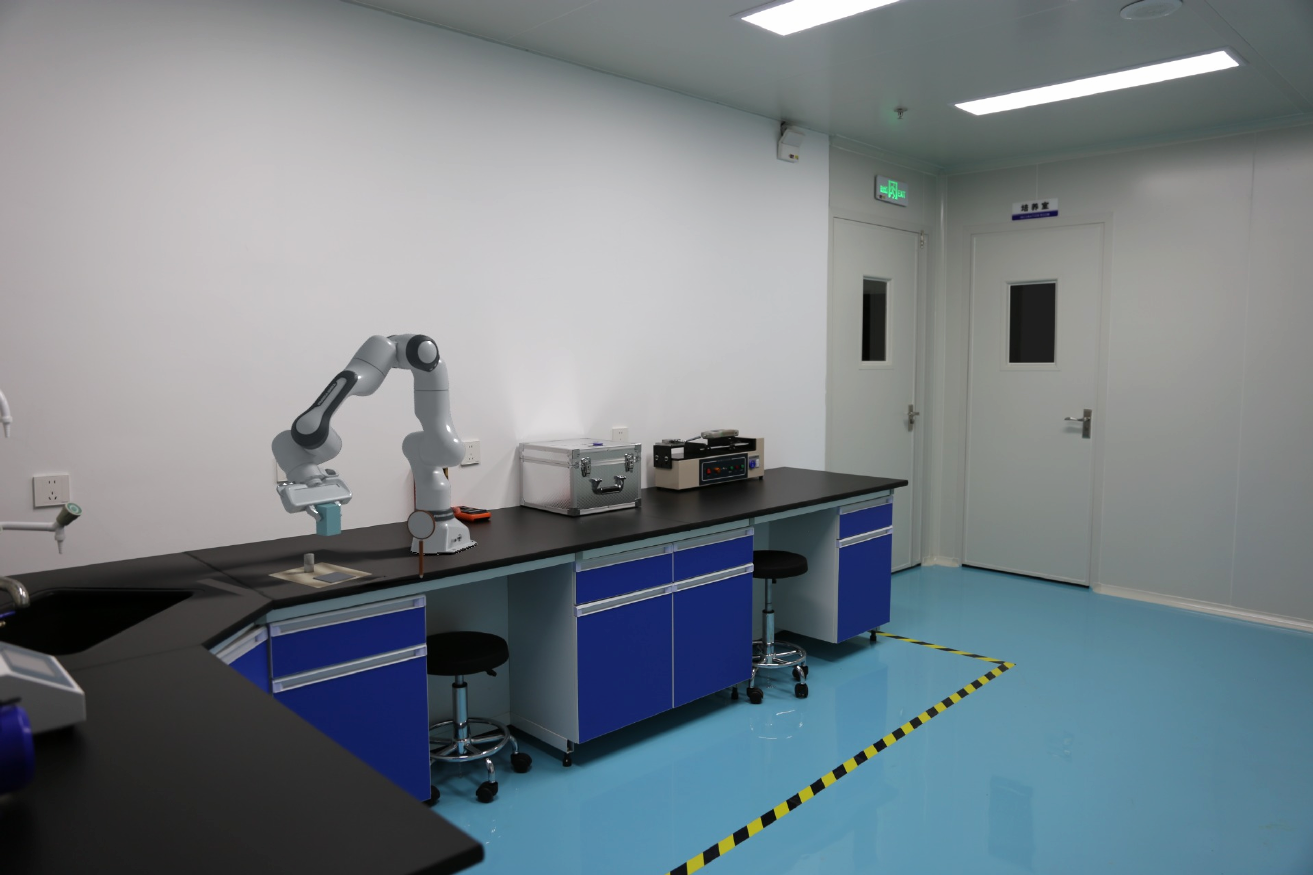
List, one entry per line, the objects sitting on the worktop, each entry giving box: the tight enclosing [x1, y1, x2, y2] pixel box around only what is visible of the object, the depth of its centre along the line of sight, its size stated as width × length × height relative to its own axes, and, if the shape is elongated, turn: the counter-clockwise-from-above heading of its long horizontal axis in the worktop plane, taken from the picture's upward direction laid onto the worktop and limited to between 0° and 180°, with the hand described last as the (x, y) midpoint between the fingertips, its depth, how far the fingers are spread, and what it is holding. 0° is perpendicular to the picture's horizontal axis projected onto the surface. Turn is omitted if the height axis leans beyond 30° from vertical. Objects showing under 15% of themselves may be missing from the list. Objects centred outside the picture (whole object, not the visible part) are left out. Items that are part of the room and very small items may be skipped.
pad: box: [313, 572, 356, 583], centre depth 235 cm, size 8×8×1 cm
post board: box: [268, 553, 372, 589], centre depth 238 cm, size 18×22×6 cm
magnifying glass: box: [406, 510, 435, 579], centre depth 242 cm, size 9×2×20 cm, turn 79°
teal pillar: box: [315, 503, 342, 537], centre depth 235 cm, size 5×5×8 cm
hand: (330, 518), depth 235 cm, fingers closed on teal pillar, 5 cm apart
